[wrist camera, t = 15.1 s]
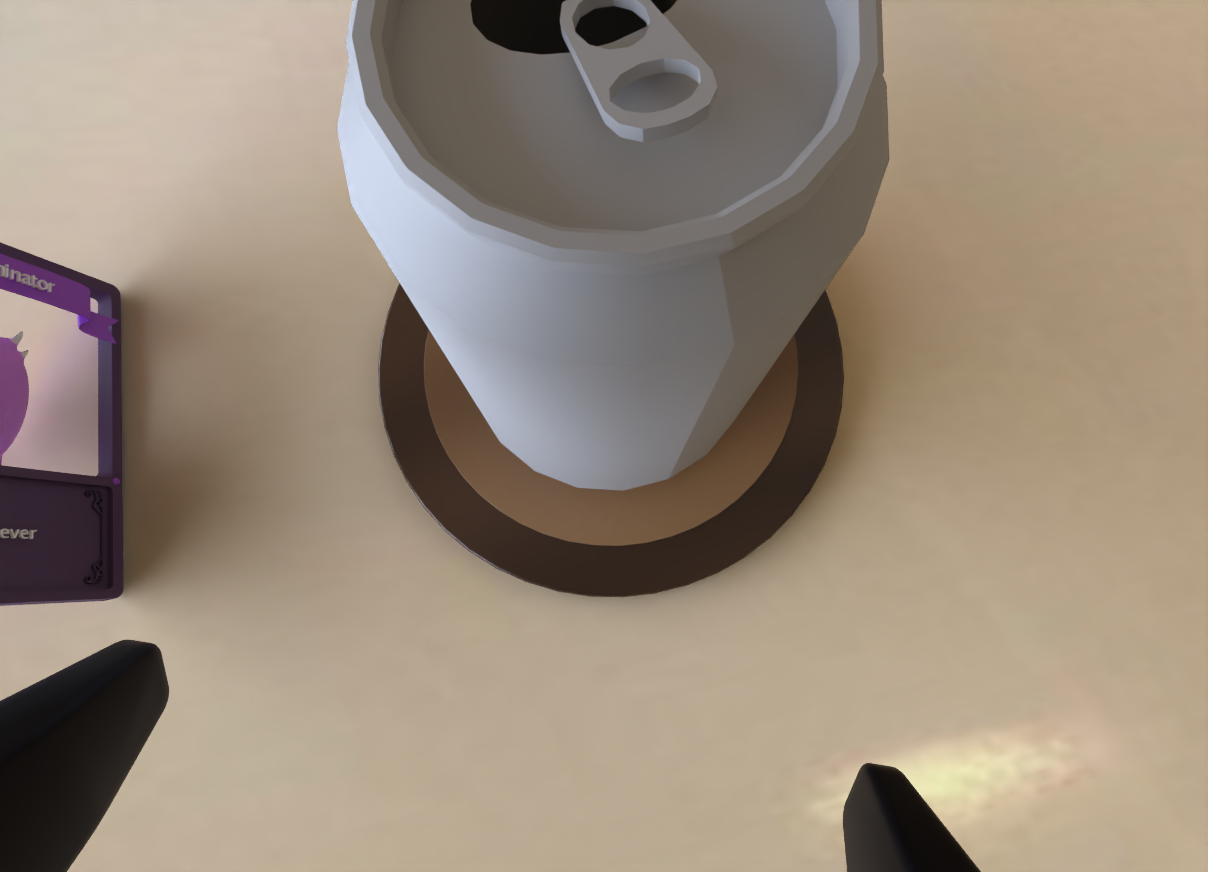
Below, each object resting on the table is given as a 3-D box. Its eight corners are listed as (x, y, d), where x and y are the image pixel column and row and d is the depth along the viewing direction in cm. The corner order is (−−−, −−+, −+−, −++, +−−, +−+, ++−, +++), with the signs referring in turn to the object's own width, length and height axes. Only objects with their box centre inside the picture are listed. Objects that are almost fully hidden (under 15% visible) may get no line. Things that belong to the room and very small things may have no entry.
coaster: (923, 472, 20) (934, 468, 19) (489, 682, 18) (485, 685, 18) (709, 106, 22) (712, 91, 22) (320, 265, 21) (311, 254, 20)
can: (675, 204, 21) (766, -314, 9) (791, 431, 19) (1083, 153, 7) (435, 297, 20) (201, -135, 8) (534, 541, 18) (413, 426, 7)
